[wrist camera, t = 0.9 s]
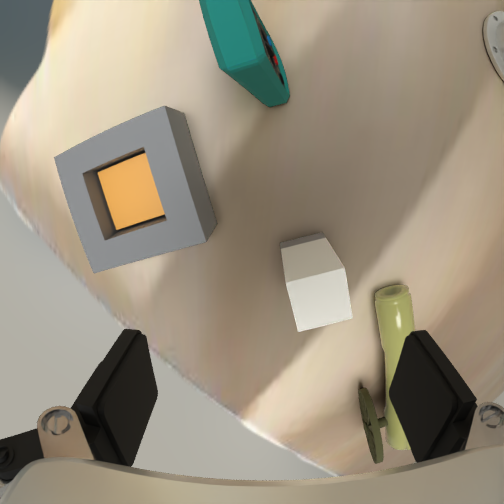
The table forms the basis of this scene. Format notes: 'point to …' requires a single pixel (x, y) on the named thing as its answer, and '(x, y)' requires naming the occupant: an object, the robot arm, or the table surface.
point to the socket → (166, 180)
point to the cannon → (388, 367)
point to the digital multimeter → (245, 49)
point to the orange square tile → (131, 192)
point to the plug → (315, 282)
